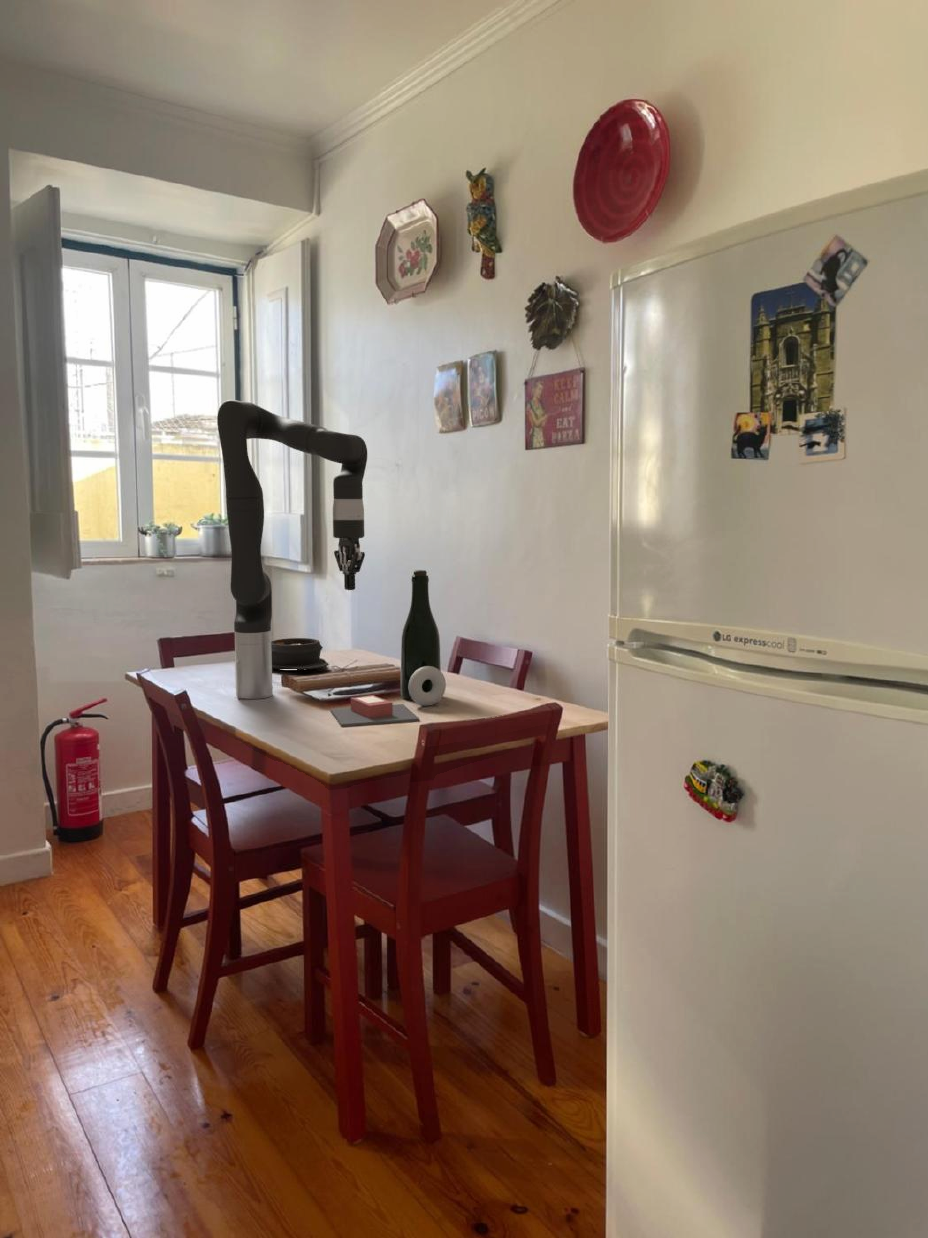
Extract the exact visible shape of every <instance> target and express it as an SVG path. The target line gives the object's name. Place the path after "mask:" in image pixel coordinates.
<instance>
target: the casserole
mask: <svg viewBox="0 0 928 1238" xmlns="http://www.w3.org/2000/svg"><path fill="white" fill-rule="evenodd" d="M271 650H272V668H274V669H275V668H276V669H275V670H277V669H297V670H304V669H309V670H314V669H321V668H325V667H328V666H329V665H330V664H329V662H327V661H326V659H324V658H321V651H322V650H323V646H322V645H321V642H320V640H318V639H315V638H310V637H309V638H307V637H306V638H305V637H291V638H281V639H275V640H271ZM304 671H305V670H304Z"/></svg>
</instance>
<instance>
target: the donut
mask: <svg viewBox="0 0 928 1238" xmlns="http://www.w3.org/2000/svg"><path fill="white" fill-rule="evenodd" d="M427 679H429V680H431V681H432V683H433V687H432V689H431V691H429V692H427V693H426V692H424V691H423V690H422V684H423V682H424V681H425V680H427ZM446 687H447V683H446V678H445V675H444V673H443V672H442V670H441V671H440V670H439V669H437V668H435V667H433V666H424V667H421V668H419V669H418V670H416V671H415V672H414V673H413V674H412V676H411V678H410V680H409V686H408V689H409V694H410V696H411V698H412V699H413V700H412V701H414V702H415V703H416V704H418V705H419V706H422V707H426V706H427V707H429V706H433V705H435V704H437V703H438V702H440V701H441V699H442V698H443V696H444V694H445V691H446Z"/></svg>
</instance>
